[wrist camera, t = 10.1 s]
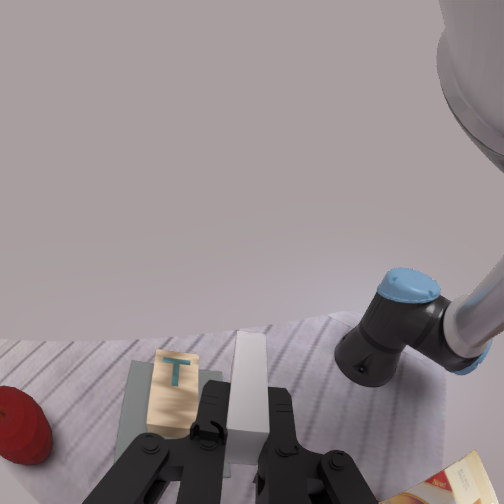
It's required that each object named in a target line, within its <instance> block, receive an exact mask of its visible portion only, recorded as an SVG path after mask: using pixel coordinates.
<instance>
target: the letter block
mask: <svg viewBox="0 0 504 504" xmlns="http://www.w3.org/2000/svg"><path fill="white" fill-rule="evenodd" d="M198 367H199V355H196V354H188V353H180V352H173V351H166V350H159V349H157V350H156V356H155V362H154V369H153V375H152V382H151V389H150V397H149V405H148V413H147V422H146V424H147V430H148V432H152V433H156V434H159V435H160V436H164V437H172V438H183V437H186V436H187V435H189V434H190V427H191V425H192V423H193V422H195V421H196V416H197V412H198Z"/></svg>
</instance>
